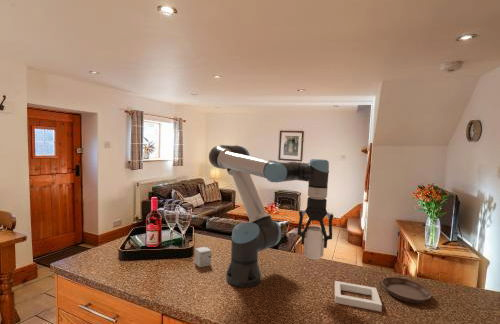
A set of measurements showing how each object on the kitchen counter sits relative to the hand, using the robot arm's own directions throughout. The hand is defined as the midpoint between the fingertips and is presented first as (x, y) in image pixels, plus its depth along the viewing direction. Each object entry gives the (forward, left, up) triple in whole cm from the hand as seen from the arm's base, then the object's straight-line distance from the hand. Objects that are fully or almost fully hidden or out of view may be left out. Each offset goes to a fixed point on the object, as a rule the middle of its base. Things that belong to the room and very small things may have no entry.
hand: (313, 253), depth 110 cm
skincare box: (-52, +6, -15) cm, 54 cm away
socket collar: (+17, 0, -15) cm, 23 cm away
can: (0, 0, -2) cm, 2 cm away
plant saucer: (+37, +12, -16) cm, 42 cm away
